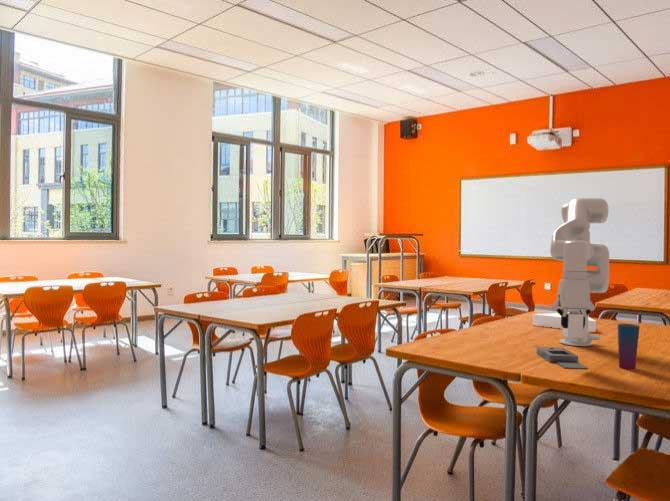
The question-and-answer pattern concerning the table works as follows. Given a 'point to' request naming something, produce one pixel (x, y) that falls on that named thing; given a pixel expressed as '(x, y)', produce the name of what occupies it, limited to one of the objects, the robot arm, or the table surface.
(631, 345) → the cup
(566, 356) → the dark grey flat block
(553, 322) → the flat white box
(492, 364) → the table surface
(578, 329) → the white upright block
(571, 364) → the mat
